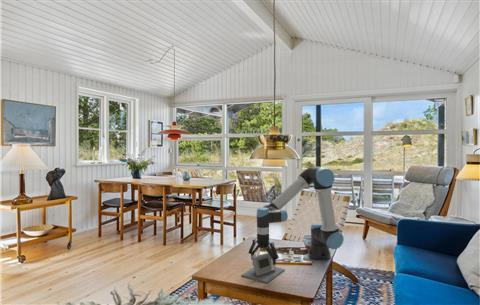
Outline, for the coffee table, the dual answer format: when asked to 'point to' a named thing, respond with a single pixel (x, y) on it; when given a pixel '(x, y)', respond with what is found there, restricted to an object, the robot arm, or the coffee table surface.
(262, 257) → the digital clock
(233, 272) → the coffee table surface
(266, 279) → the mat
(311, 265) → the coffee table surface
